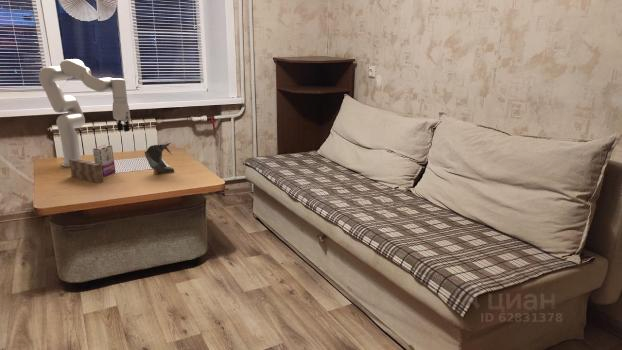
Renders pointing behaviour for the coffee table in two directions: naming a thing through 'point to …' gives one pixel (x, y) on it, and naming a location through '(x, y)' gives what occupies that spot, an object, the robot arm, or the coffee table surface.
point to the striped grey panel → (86, 170)
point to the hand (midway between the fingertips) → (123, 130)
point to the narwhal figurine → (157, 158)
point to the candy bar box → (105, 159)
